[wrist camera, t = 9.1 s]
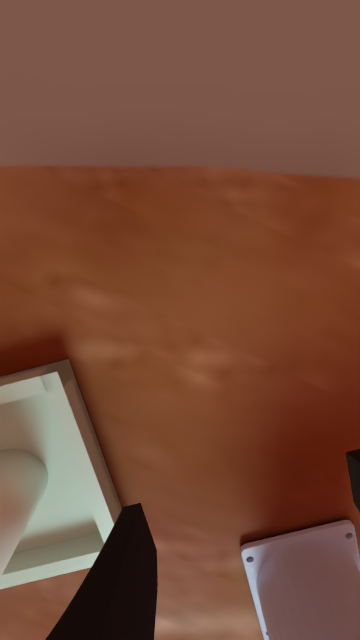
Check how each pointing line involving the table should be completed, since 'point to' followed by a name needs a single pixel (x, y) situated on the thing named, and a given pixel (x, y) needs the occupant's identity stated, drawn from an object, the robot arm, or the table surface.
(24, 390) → the trough tray
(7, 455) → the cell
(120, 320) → the table surface
